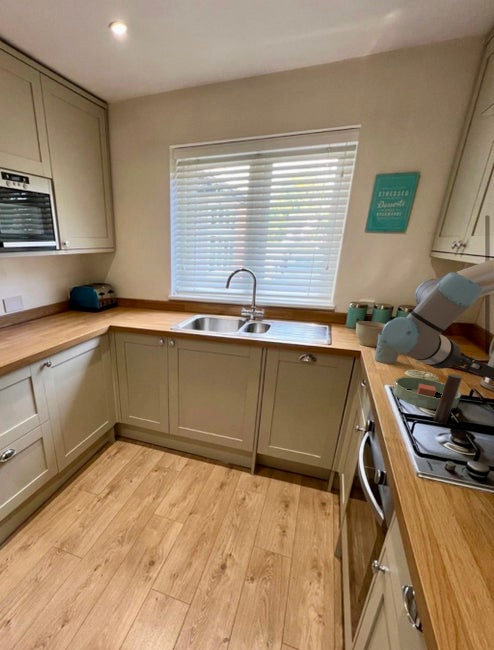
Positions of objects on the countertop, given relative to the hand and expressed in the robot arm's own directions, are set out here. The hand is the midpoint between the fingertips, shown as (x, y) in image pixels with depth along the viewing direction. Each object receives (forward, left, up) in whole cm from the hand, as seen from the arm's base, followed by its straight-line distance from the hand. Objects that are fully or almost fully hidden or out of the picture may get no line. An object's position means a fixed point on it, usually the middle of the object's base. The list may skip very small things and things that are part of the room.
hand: (481, 371), depth 88 cm
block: (+8, -17, -17) cm, 25 cm away
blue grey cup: (+20, -58, -18) cm, 64 cm away
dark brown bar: (+5, -1, -18) cm, 18 cm away
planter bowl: (+28, -84, -18) cm, 90 cm away
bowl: (+8, -18, -18) cm, 26 cm away
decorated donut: (+8, -36, -18) cm, 41 cm away
